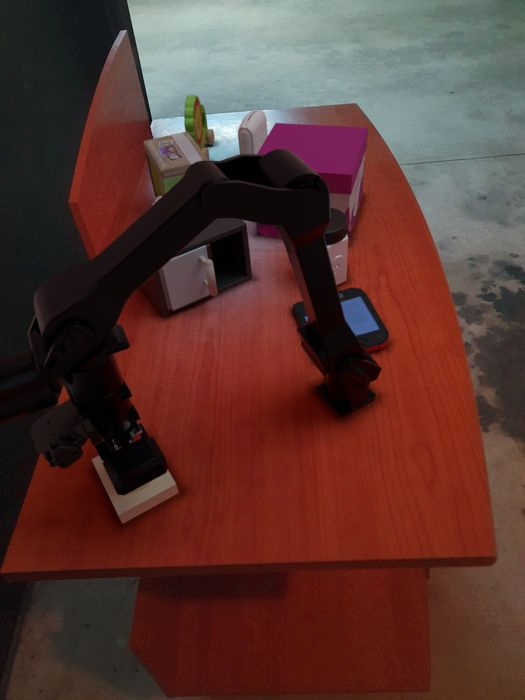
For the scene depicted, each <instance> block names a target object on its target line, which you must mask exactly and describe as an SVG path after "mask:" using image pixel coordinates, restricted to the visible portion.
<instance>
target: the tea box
mask: <svg viewBox="0 0 525 700" xmlns="http://www.w3.org/2000/svg"><path fill="white" fill-rule="evenodd" d="M143 148H144V153H145V157H146V162H147V166H148V171H149V176H150V181H151V186H152V189H153V195H154V199H155V200H156V199H157V197H159V196H163V195H164V194H166V193H167V192H168V191H169V190H170V189H171V188H172V187H173V186H174V185H175V184H176V183H178V182H179V181H180V180H181V179H182V178H183V177H184V175H185V172H186V170H187V169H188V168H189V166H190V165H192V164H194V163H195V162H198V161H208V159H207V157H206V156H205V154H204V153H203V152H202V150H201V149H200V148H199V146H198V145H197V144H196V142H195V141H194V140H193V138H192V137H191V136H190V135H189V133H188V132H187V131H183V132H177V133H173V134H169V135H165V136H160V137H154V138H151V139H146V140H143ZM155 200H154V201H155Z"/></svg>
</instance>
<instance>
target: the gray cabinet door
mask: <svg viewBox="0 0 525 700" xmlns="http://www.w3.org/2000/svg"><path fill="white" fill-rule="evenodd" d="M162 270H163V274H164V278H165V282H166V287H167V291H168V295H169V299H170V303H171V307H172V310H176V309H178V308H180V307H183V306H185V305H187V304H189V303H192V302H194V301H196V300H199V299H201V298H203V297H206V296H208V295H211V296H212V297H215V296H217V295H218V294H217V292H218V289H217V283H216V277H215V271H214V264H213V258H212V252H211V246H210V244H207V245H205V246H202V247H200V248H197V249H195V250H192V251H190V252H187V253H185V254H182V255H180V256H177V257H175V258H172V259H171V260H170V261H169V262H168V263H167V264H165V265H164V266H163V267H162Z"/></svg>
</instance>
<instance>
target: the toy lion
mask: <svg viewBox="0 0 525 700" xmlns="http://www.w3.org/2000/svg"><path fill="white" fill-rule="evenodd" d="M185 98H186V99H185V101H184V109H183V116H184V120H183V121H184V122H183V123H184V125H183V126H184V130H185V131H184V132H186V131H187V132H188V133H189V135H190V136H191V137H192V138H193V140H194V141H195V142H196V144H197V145H198V146H199V148H200V149H201V150H202V152H203V153H204V154H205V156H206V157H207V159H208V161H210V151H209V148H208V147H205V146H206V144H208V145H209V146H214V145H215V132H214V129H213V128H208V126H209V125H208V120H207V119H208V118H207V113H206V109H205V105H203V104H202V103H201V100H200V97H199V95H196V94H191V95H190V94H188V95H186V97H185ZM207 142H208V143H207ZM210 143H211V144H210Z"/></svg>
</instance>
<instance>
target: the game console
mask: <svg viewBox="0 0 525 700" xmlns="http://www.w3.org/2000/svg"><path fill="white" fill-rule="evenodd" d="M338 293H339V297H340V301H341V305H342V309H343V313H344V317H345V320H346V322H347V323H348V325H349V326H350V328H351V329H352V331H353V332H354V334H355V335H356V337H357V338H358V340H359V341H360V343H361V345H362V346H363V347H364V348H365V349H366V351H367V352H368V353H370V352H374V351H377V350H382V349H383V348H385V347H386V346H387V345H388V340H389V338H390V332H389V330H388V328H387V327H386V325H385V323H384V322H383V320H382V318H381V316H380V315H379V313H378V311H377V309H376V308H375V306H374V305H373V303H372V301H371V299H370V297H369V296H368V294H367V293H366V291H365V290H363V289H362V288H360V287H347V288H344V289H340V290H338ZM292 312H293V313H294V317H295V318H296V321H297V323H298V325H299V328H300V327H302V326H305V324H306V322H307V320H308V316H307V313H306V309H305V306H304V303H303V300H300V301H297V302H295V303H293V304H292Z"/></svg>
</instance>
